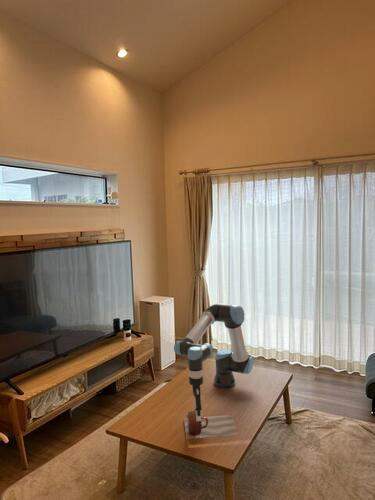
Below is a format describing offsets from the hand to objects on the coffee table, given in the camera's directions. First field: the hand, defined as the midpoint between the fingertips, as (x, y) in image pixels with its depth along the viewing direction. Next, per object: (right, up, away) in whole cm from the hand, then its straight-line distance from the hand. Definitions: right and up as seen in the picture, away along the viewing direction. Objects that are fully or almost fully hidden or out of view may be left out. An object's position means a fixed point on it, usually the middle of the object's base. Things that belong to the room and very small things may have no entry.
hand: (197, 413), depth 200 cm
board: (+7, -11, +8) cm, 15 cm away
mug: (0, -11, 0) cm, 11 cm away
